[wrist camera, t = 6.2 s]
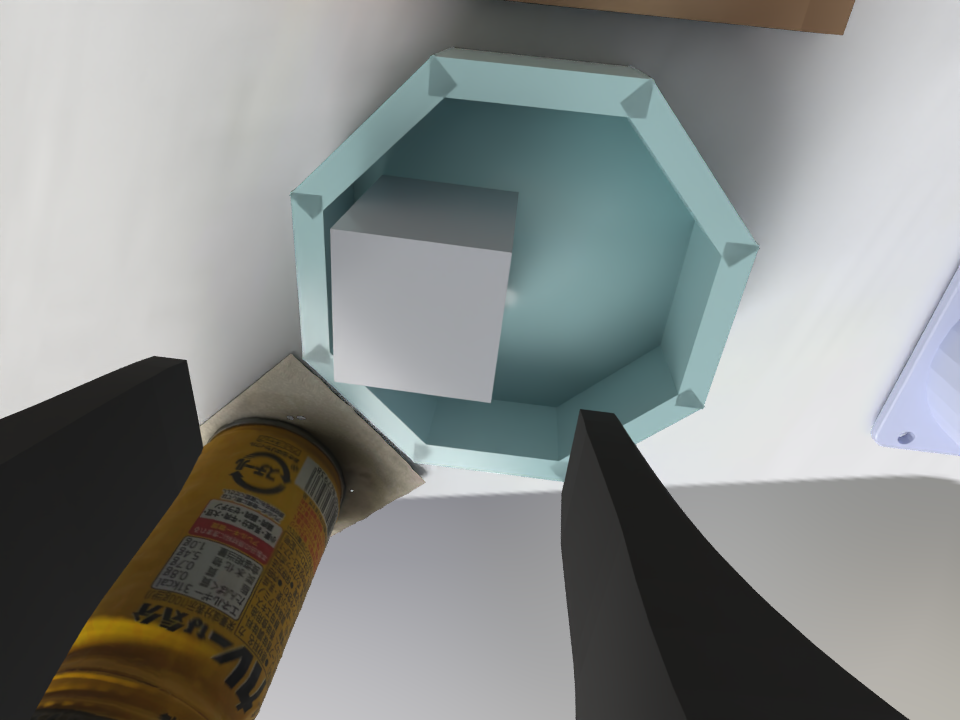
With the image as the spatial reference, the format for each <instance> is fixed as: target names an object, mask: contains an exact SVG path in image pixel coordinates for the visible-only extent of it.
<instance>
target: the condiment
mask: <svg viewBox="0 0 960 720" xmlns="http://www.w3.org/2000/svg"><path fill="white" fill-rule="evenodd" d="M287 416H292V417H293V418H294V419H293V420H290V419H287ZM297 416H304V417H305V418H306V420H300V419H297ZM200 432H201V437H202V442H203V447H204V448H203V450H202V452H201V454H200V456H199V458H198V460H197V462H196V464H195V466H194V468H193V470H192V472H191V474H190V475H189V477H188V479H187V481H186V482H185V484H184V486H183V488H182V490H181V491H180V493H179V495H178V496H177V498H176V499H175V501H174V502H173V503H172V505H171V506H170V508H169V509H168V510H167V512H166V513H165V515H164V516H163V517H162V519H161V520H160V521H159V523H158V524H157V526H156V527H155V528H154V530H153V531H152V533H151V534H150V535H149V537H148V538H147V539H146V541H145V542H144V543H143V545H142V546H141V547H140V549H139V550H138V551H137V553H136V554H135V556H134V557H133V558H132V560H131V561H130V562H129V564H128V565H127V566H126V568H125V569H124V570H123V572H122V573H121V575H120V576H119V577H118V579H117V580H116V581H115V583H114V584H113V585H112V587H111V588H110V589H109V591H108V592H107V594H106V595H105V596H104V598H103V599H102V600H101V602H100V603H99V605H98V606H97V608H96V609H95V611H94V612H93V614H92V615H91V617H90V618H89V620H88V621H87V623H86V624H85V626H84V627H83V629H82V631H81V632H80V634H79V636H78V638H77V639H76V641H75V643H74V644H73V646H72V648H71V649H70V651H69V653H68V654H67V656H66V658H65V659H64V661H63V663H62V664H61V666H60V668H59V670H58V671H57V673H56V675H55V676H54V678H53V680H52V681H51V683H50V685H49V687H48V689H47V691H46V692H45V694H44V696H43V698H42V700H41V701H40V703H39V705H38V707H37V709H36V710H35V712H34V714H33V716H32V718H31V719H30V720H254V719H255V718H256V716H257V715H258V713H259V711H260V707H261V705H262V702H263V701H264V698H265V696H266V693H267V691H268V688H269V686H270V684H271V682H272V679H273V676H274V674H275V671H276V669H277V666H278V663H279V661H280V659H281V657H282V654H283V651H284V649H285V646H286V643H287V641H288V638H289V636H290V633H291V631H292V628H293V626H294V624H295V621H296V619H297V617H298V614H299V612H300V610H301V608H302V605H303V602H304V600H305V597H306V594H307V592H308V590H309V587H310V585H311V582H312V579H313V577H314V574H315V572H316V570H317V567H318V564H319V562H320V560H321V557H322V555H323V553H324V551H325V548H326V546H327V543H328V541H329V538H330V537H331V536H333V535H335V534H336V533H338V532H341V531H342V530H343V529H345V528H347V527H349V526H351V525H353V524H355V523H356V522H357V521H360V520H363V519H365V518H367V517H368V516H369V515H371V514H372V513H374V512H375V511H377V510H379V509H381V508H383V507H384V506H385V505H387V504H389V503H390V502H392V501H394V500H395V499H397V498H400V497H402V496H404V495H406V494H408V493H410V492H411V491H412V490H414V489H416V488H417V487H419V486H421V485H422V484H424V483H426V482H425V481H424V480H423V479H422V478H421V477H420V476H419V475H418V474H417V473H416V472H415V471H414V470H413V469H412V468H411V466H410V465H409V464H408V463H407V462H406V461H405V460H404V459H403V458H402V457H401V456H400V455H399V454H398V453H397V452H396V451H395V450H394V449H393V448H392V447H391V446H389V445H388V444H387V443H386V442H385V441H384V439H383V438H382V437H381V436H380V435H379V434H378V433H377V432H376V431H375V430H374V429H373V428H372V427H370V426H369V425H368V424H367V423H366V422H365V421H364V420H363V419H362V418H361V417H359V416H358V415H357V414H356V413H355V411H354V409H353V408H352V407H351V406H350V405H347V404H346V403H345V402H344V401H342V400H341V399H340V398H339V397H337V396H336V395H335V394H334V393H333V392H332V391H331V390H330V389H329V388H328V387H327V386H326V385H325V384H324V383H323V382H322V381H321V380H320V379H319V378H318V377H317V376H315V375H314V374H313V373H311V372H310V371H309V370H308V369H307V368H306V367H305V366H304V365H303V364H302V363H301V362H300V361H299V360H297V359H296V358H295V357H294V356H293V355H292V354H290V355H289V356H287V357H286V358H285V359H284V360H282V361H281V362H280V363H279V364H278V365H276V366H275V367H274V368H273V369H271V370H270V371H269V372H267V373H266V374H265V375H264V376H262V377H261V378H260V379H259V380H258V381H257V382H255V383H254V384H253V385H252V386H250V387H249V388H248V389H247V390H245V391H244V392H243V393H242V394H240V395H239V396H238V397H237V398H235V399H234V400H233V401H231V402H230V403H229V404H228V405H226V406H225V407H224V408H222V409H221V410H220V411H219V412H217V413H216V414H215V415H214V416H212V417H211V418H210V419H209V420H207V421H206V422H205V423H204V424H203V425H201V426H200ZM350 490H354V491H353V492H351V491H350Z"/></svg>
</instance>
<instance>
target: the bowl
mask: <svg viewBox="0 0 960 720" xmlns="http://www.w3.org/2000/svg"><path fill="white" fill-rule="evenodd" d="M654 81H655V80H654V79H652V78H651V77H650V76H648V75H646V74H644V73H643V72H641V71H639V70H638V69H636V68H634V67H633V66H631V65H629V66H621V65H611V64H602V63H592V62H583V61H574V60H564V59H555V58H545V57H536V56H526V55H517V54H508V53H498V52H489V51H479V50H470V49H461V48H454V46H453V47H450V48H448V49H445V50H443V51H441V52H438V53H436V54H433V55H431V56H430V58H429V59H428V60H427V61H426V62H425V63H424V64H423V65H422V66H421V67H420V68H419V69H418V70H417V71H416V72H415V73H414V74H413V75H412V76H411V77H410V78H409V79H408V80H407V81H406V82H405V83H404V84H403V85H402V86H401V87H400V88H399V89H398V90H397V91H396V92H395V93H394V94H393V95H391V96H390V97H389V98H388V99H387V100H386V101H385V102H384V103H383V104H382V105H381V106H380V107H379V108H378V109H377V110H376V111H375V112H374V113H373V114H372V115H371V116H370V117H369V118H368V119H367V120H366V121H365V122H364V123H363V124H362V125H361V126H360V127H359V128H358V129H357V130H356V131H355V132H354V133H353V134H352V135H350V136H349V137H348V138H347V139H346V140H345V141H344V142H343V143H342V144H341V145H340V146H339V147H338V148H337V149H336V150H335V151H334V152H333V153H332V154H331V155H330V156H329V157H328V158H327V159H326V160H325V161H324V162H323V163H322V164H321V165H320V166H319V167H318V168H317V169H316V170H315V171H314V172H313V173H312V174H310V175H309V176H308V177H307V178H306V179H305V180H304V181H303V182H302V183H301V184H300V185H299V186H298V187H297V188H295V189H294V190H293V191H291V192H290V193H291V194H290V196H291V206H292V219H293V233H294V246H295V259H296V272H297V286H298V299H299V312H300V325H301V339H302V352H303V357H302V359H303V360H304V361H306V362H307V363H308V364H309V365H310V366H311V367H312V368H313V369H314V370H315V371H316V372H317V373H319V374H320V375H321V376H322V377H323V378H324V379H325V380H326V381H327V382H328V383H329V384H330V385H331V386H333V387H334V388H335V389H336V390H337V391H338V392H339V393H340V394H341V395H342V396H343V397H344V398H345V399H347V400H348V401H349V402H350V403H351V404H352V405H353V406H354V407H355V408H356V409H357V410H358V411H359V412H361V413H362V414H363V415H364V416H365V417H366V418H367V419H368V420H369V421H370V422H371V423H372V424H373V425H374V426H376V427H377V428H378V429H379V430H380V431H381V432H382V433H383V434H384V435H385V436H386V437H387V438H388V439H390V440H391V441H392V442H393V443H394V444H395V445H396V446H397V447H398V448H399V449H400V450H401V451H402V452H404V453H405V454H406V455H407V456H408V457H409V458H410V459H411V460H412V461H413V463H415V464H416V463H419V464H427V465H435V466H443V467H451V468H459V469H467V470H475V471H483V472H491V473H499V474H506V475H514V476H522V477H530V478H538V479H546V480H554V481H562V482H564V480H565V476H566V471H567V467H568V462H569V457H570V453H571V448H572V443H573V439H574V434H575V430H576V425H577V420H578V416H579V411H580V409H585V410H593V411H601V412H609V413H614V414H615V415H616V416H617V418H618V419H619V420H620V422H621V423H622V425H623V427H624V428H625V430H626V431H627V433H628V434H629V436H630V437H631V439H632V440H633V442H634V443H635V444H637V443H639V442H640V441H642V440H644V439H646V438H648V437H650V436H652V435H653V434H655V433H657V432H659V431H661V430H663V429H665V428H667V427H668V426H670V425H672V424H674V423H676V422H678V421H680V420H681V419H683V418H685V417H687V416H689V415H691V414H693V413H694V412H696V411H698V410H700V409H703V408H704V407H705V406H704V404H705V401H706V398H707V395H708V392H709V389H710V387H711V384H712V381H713V378H714V375H715V372H716V369H717V366H718V364H719V361H720V358H721V355H722V352H723V349H724V346H725V343H726V340H727V338H728V335H729V332H730V329H731V326H732V323H733V320H734V317H735V315H736V312H737V309H738V306H739V303H740V300H741V297H742V294H743V292H744V289H745V286H746V283H747V280H748V277H749V274H750V271H751V268H752V266H753V263H754V260H755V257H756V254H757V251H758V250H759V249H760V248H759V245H758V244H757V242H756V241H755V240H754V239H753V237H752V236H751V234H750V233H749V231H748V229H747V228H746V226H745V225H744V223H743V222H742V220H741V218H740V217H739V215H738V214H737V212H736V210H735V209H734V207H733V206H732V204H731V203H730V201H729V199H728V198H727V196H726V195H725V193H724V191H723V190H722V188H721V187H720V185H719V184H718V182H717V180H716V179H715V177H714V176H713V174H712V173H711V171H710V169H709V168H708V166H707V165H706V163H705V161H704V160H703V158H702V157H701V155H700V154H699V152H698V150H697V149H696V147H695V146H694V144H693V143H692V141H691V139H690V138H689V136H688V135H687V133H686V131H685V130H684V128H683V127H682V125H681V124H680V122H679V120H678V119H677V117H676V116H675V114H674V113H673V111H672V109H671V108H670V106H669V105H668V103H667V101H666V100H665V98H664V97H663V95H662V94H661V92H660V90H659V89H658V87H657V86H656V84H655V82H654ZM381 175H389V176H397V177H404V178H412V179H420V180H428V181H435V182H443V183H451V184H458V185H466V186H474V187H482V188H489V189H497V190H505V191H512V192H519V195H518V204H517V213H516V222H515V231H514V240H513V249H512V257H511V264H510V271H509V278H508V285H507V292H506V299H505V306H504V313H503V321H502V328H501V335H500V342H499V349H498V356H497V363H496V370H495V377H494V384H493V392H492V399H491V403H487V402H479V401H472V400H465V399H457V398H450V397H443V396H436V395H428V394H421V393H414V392H406V391H399V390H392V389H384V388H377V387H370V386H362V385H355V384H348V383H341V382H334V360H333V320H332V281H331V242H330V228H331V227H332V226H333V225H334V224H335V223H336V222H337V221H338V220H339V219H340V218H341V217H342V216H343V215H344V214H345V213H346V212H347V211H348V210H349V209H350V208H351V207H352V206H353V205H354V203H355V202H356V201H357V200H358V199H359V198H360V197H361V196H362V195H363V194H364V193H365V192H366V191H367V190H368V189H369V188H370V187H371V186H372V185H373V184H374V183H375V182H376V181H377V180H378V179H379V177H380V176H381Z"/></svg>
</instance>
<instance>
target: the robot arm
mask: <svg viewBox="0 0 960 720" xmlns="http://www.w3.org/2000/svg"><path fill="white" fill-rule="evenodd" d="M905 432H907V434H906V435H904V436H902V437H899V436H900V435H901V434H903V433H905ZM871 436H872V438H873V439H874V441H875V442H876V443H877V444H878V445H880V446H883V447H890V448H898V449H906V450H914V451H923V452H931V453H939V454H947V455H955V456H960V265H959V267H958V269H957V271H956V273H955V275H954V277H953V278H952V280H951V282H950V284H949V286H948V288H947V290H946V291H945V293H944V295H943V297H942V299H941V301H940V303H939V304H938V306H937V308H936V310H935V312H934V314H933V316H932V317H931V319H930V321H929V323H928V325H927V327H926V329H925V330H924V332H923V334H922V336H921V338H920V340H919V342H918V343H917V345H916V347H915V349H914V351H913V353H912V355H911V356H910V358H909V360H908V362H907V364H906V366H905V368H904V369H903V371H902V373H901V375H900V377H899V379H898V381H897V382H896V384H895V386H894V388H893V390H892V392H891V393H890V395H889V397H888V399H887V401H886V403H885V405H884V406H883V408H882V410H881V412H880V414H879V416H878V418H877V419H876V421H875V423H874V425H873V427H872V429H871ZM203 448H204V447H203V442H202V437H201V432H200V427H199V422H198V416H197V411H196V406H195V401H194V396H193V391H192V385H191V380H190V375H189V370H188V365H187V360H182V359H174V358H166V357H158V356H153V357H150V358H147V359H144V360H141V361H138V362H135V363H133V364H130V365H128V366H125V367H123V368H120V369H118V370H116V371H113V372H111V373H108V374H106V375H104V376H101V377H99V378H97V379H94V380H92V381H90V382H87V383H85V384H83V385H81V386H78V387H76V388H74V389H71V390H69V391H67V392H64V393H62V394H60V395H57V396H55V397H53V398H50V399H48V400H46V401H43V402H41V403H39V404H37V405H34V406H32V407H29V408H27V409H25V410H22V411H20V412H17V413H15V414H12V415H10V416H7V417H5V418H2V419H0V720H30V719H31V718H32V716H33V714H34V712H35V710H36V709H37V707H38V705H39V703H40V701H41V700H42V698H43V696H44V694H45V692H46V691H47V689H48V687H49V685H50V683H51V681H52V680H53V678H54V676H55V675H56V673H57V671H58V670H59V668H60V666H61V664H62V663H63V661H64V659H65V658H66V656H67V654H68V653H69V651H70V649H71V648H72V646H73V644H74V643H75V641H76V639H77V638H78V636H79V634H80V632H81V631H82V629H83V627H84V626H85V624H86V623H87V621H88V620H89V618H90V617H91V615H92V614H93V612H94V611H95V609H96V608H97V606H98V605H99V603H100V602H101V600H102V599H103V598H104V596H105V595H106V594H107V592H108V591H109V589H110V588H111V587H112V585H113V584H114V583H115V581H116V580H117V579H118V577H119V576H120V575H121V573H122V572H123V570H124V569H125V568H126V566H127V565H128V564H129V562H130V561H131V560H132V558H133V557H134V556H135V554H136V553H137V551H138V550H139V549H140V547H141V546H142V545H143V543H144V542H145V541H146V539H147V538H148V537H149V535H150V534H151V533H152V531H153V530H154V528H155V527H156V526H157V524H158V523H159V521H160V520H161V519H162V517H163V516H164V515H165V513H166V512H167V510H168V509H169V508H170V506H171V505H172V503H173V502H174V501H175V499H176V498H177V496H178V495H179V493H180V491H181V490H182V488H183V486H184V484H185V482H186V481H187V479H188V477H189V475H190V474H191V472H192V470H193V468H194V466H195V464H196V462H197V460H198V458H199V456H200V454H201V452H202V450H203ZM561 501H562V502H561V503H562V504H561V550H562V559H563V570H564V579H565V589H566V598H567V607H568V616H569V626H570V635H571V645H572V654H573V663H574V678H575V697H576V699H575V701H576V702H575V703H576V720H909V719H907V718H906V717H905V716H904V715H902V714H901V713H900V712H898V711H897V710H896V709H894V708H893V707H892V706H890V705H889V704H888V703H887V702H885V701H884V700H883V699H882V698H880V697H879V696H878V695H876V694H875V693H874V692H873V691H871V690H870V689H868V688H867V687H866V686H865V685H864V684H862V683H861V682H860V681H858V680H857V679H856V678H855V677H853V676H852V675H851V674H849V673H848V672H847V671H846V670H844V669H843V668H842V667H841V666H840V665H838V664H837V663H836V662H835V661H834V660H832V659H831V658H830V657H829V656H827V655H826V654H825V653H824V652H823V651H822V650H820V649H819V648H818V647H816V646H815V645H814V644H813V643H812V642H811V641H810V640H808V639H807V638H806V637H805V636H804V635H803V634H802V633H801V632H800V631H799V630H797V629H796V628H795V627H794V626H793V625H792V624H791V623H790V622H788V621H787V620H786V619H785V618H784V617H783V616H782V615H781V614H780V613H778V612H777V611H776V610H775V609H774V608H773V607H771V606H770V604H769V603H768V602H767V601H765V600H764V599H763V598H762V597H761V596H760V595H759V594H758V593H757V592H756V591H755V590H754V589H753V588H752V587H751V586H750V585H749V584H748V583H747V582H746V581H745V580H744V579H743V578H742V577H741V576H740V575H739V574H738V573H737V572H736V571H735V570H734V569H733V568H732V566H730V565H729V563H728V562H727V561H726V560H725V559H724V558H723V557H722V556H721V555H720V554H719V553H718V552H717V551H716V550H715V549H714V547H713V546H712V545H711V544H710V543H709V542H708V541H707V540H706V538H705V537H704V536H703V535H702V534H701V533H700V531H699V530H698V529H697V528H696V526H695V525H694V524H693V523H692V522H691V520H690V519H689V518H688V517H687V516H686V514H685V513H684V512H683V510H682V509H681V508H680V507H679V505H678V504H677V503H676V501H675V500H674V499H673V498H672V496H671V495H670V493H669V492H668V491H667V489H666V488H665V487H664V485H663V484H662V483H661V481H660V480H659V478H658V477H657V476H656V474H655V473H654V471H653V470H652V469H651V467H650V466H649V464H648V463H647V461H646V460H645V458H644V457H643V455H642V454H641V453H640V451H639V450H638V448H637V447H636V445H635V443H634V442H633V440H632V439H631V437H630V436H629V434H628V433H627V431H626V430H625V428H624V427H623V425H622V423H621V422H620V420H619V419H618V418H617V416H616V415H615V414H614V413H609V412H601V411H593V410H585V409H580V411H579V416H578V420H577V425H576V430H575V434H574V439H573V443H572V448H571V453H570V457H569V462H568V467H567V471H566V476H565V480H564V485H563V490H562V500H561Z"/></svg>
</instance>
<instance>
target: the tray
mask: <svg viewBox="0 0 960 720" xmlns="http://www.w3.org/2000/svg"><path fill="white" fill-rule="evenodd" d="M504 1H514V2H524V3H533V4H543V5H553V6H562V7H572V8H582V9H591V10H601V11H611V12H620V13H630V14H639V15H649V16H659V17H668V18H678V19H688V20H697V21H707V22H717V23H726V24H736V25H746V26H755V27H765V28H774V29H784V30H794V31H803V32H813V33H823V34H836V35H843V34H844V31H845V28H846V25H847V22H848V19H849V17H850V14H851V11H852V8H853V5H854V3H855V0H504Z"/></svg>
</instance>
